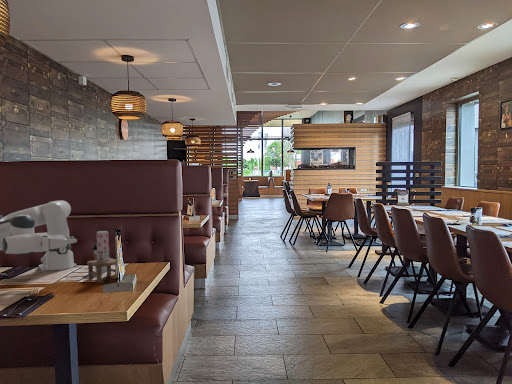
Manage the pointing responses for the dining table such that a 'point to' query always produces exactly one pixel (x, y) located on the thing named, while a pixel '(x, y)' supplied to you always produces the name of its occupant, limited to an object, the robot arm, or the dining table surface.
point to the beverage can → (102, 246)
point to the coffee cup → (103, 269)
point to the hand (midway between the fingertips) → (75, 239)
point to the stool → (99, 265)
